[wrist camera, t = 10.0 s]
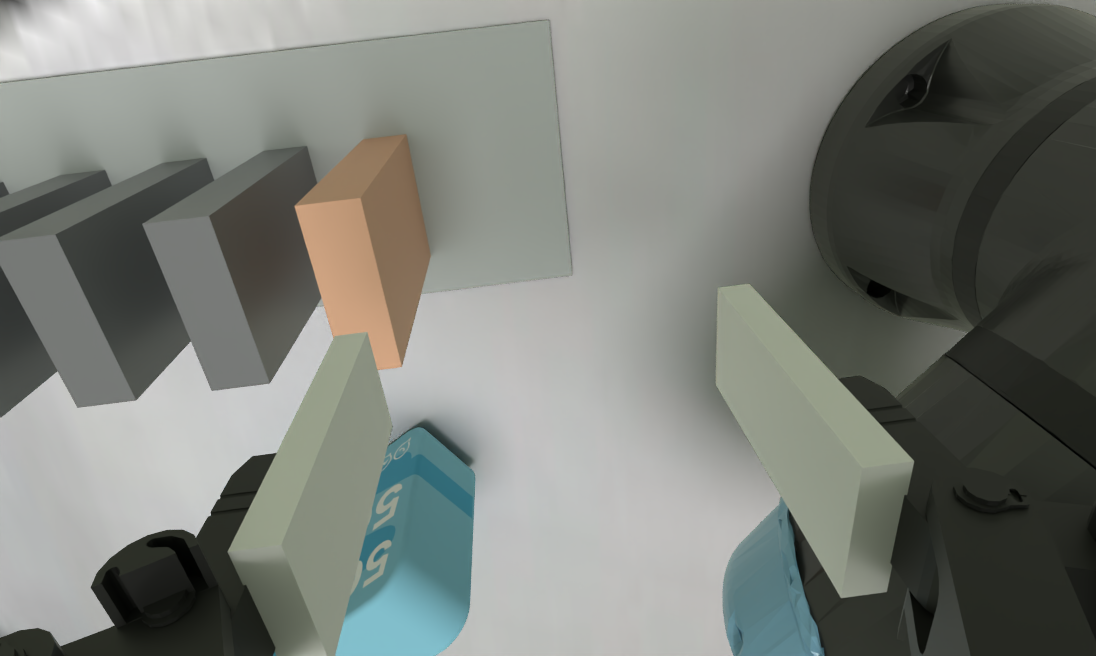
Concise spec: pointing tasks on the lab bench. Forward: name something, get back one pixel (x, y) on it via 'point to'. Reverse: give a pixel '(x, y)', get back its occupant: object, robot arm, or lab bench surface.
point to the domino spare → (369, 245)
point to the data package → (413, 554)
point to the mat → (337, 132)
